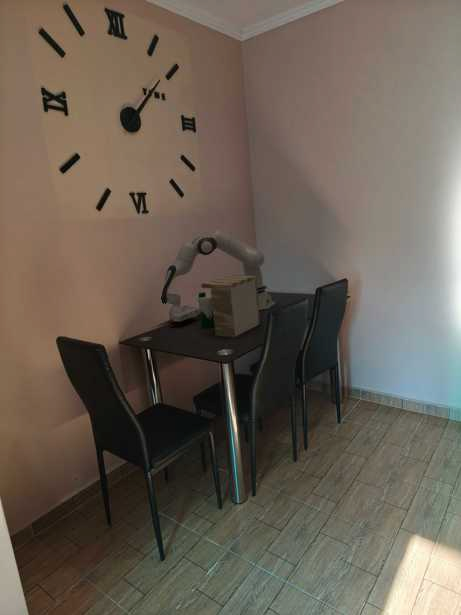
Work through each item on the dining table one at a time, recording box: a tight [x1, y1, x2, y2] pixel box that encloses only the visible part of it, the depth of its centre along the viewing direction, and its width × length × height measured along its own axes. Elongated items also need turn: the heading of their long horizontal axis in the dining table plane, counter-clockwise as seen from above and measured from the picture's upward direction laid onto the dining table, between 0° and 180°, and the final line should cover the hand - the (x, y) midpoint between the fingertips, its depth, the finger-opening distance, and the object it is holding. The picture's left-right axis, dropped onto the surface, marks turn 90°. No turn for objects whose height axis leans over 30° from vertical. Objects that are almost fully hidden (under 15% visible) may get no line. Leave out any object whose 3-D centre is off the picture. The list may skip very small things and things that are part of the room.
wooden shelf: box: [200, 274, 261, 338], centre depth 224 cm, size 26×18×28 cm
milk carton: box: [197, 291, 215, 329], centre depth 236 cm, size 9×9×20 cm
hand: (196, 315), depth 243 cm, fingers closed
